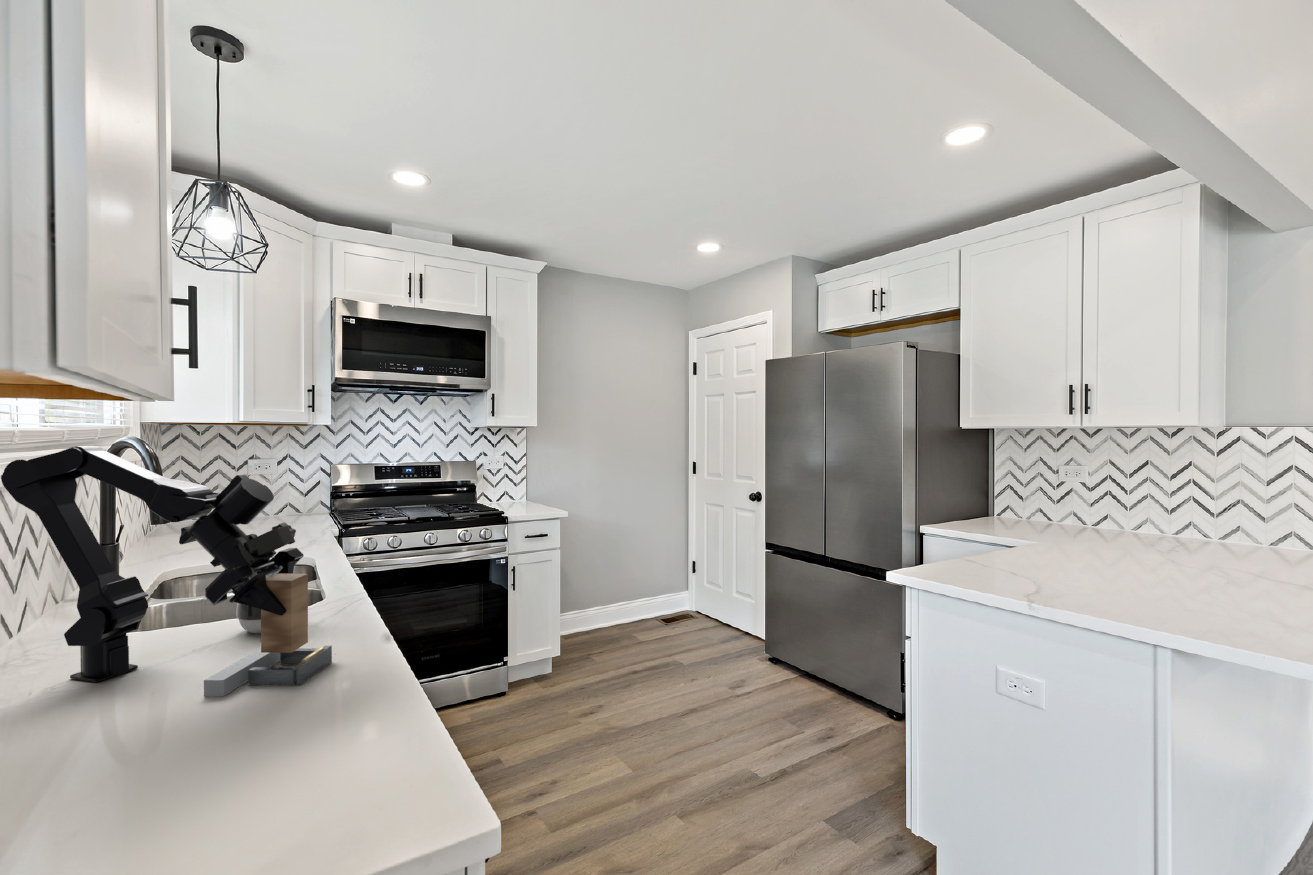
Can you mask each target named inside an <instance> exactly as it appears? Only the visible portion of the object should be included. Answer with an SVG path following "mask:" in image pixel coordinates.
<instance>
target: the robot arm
mask: <svg viewBox="0 0 1313 875" xmlns="http://www.w3.org/2000/svg"><path fill="white" fill-rule="evenodd" d="M85 476H89V477H91V478H93V479H96V480H98V481H100V482H102V483H105V484H107V485H109V486H112V487H114V488H116V489H118V490H120V491H123V492H125V493H127V494H130V495H131V496H133V497H135V498H138V499H139V500H141V501H143V502H144V503H145V504H146V506H147V508H148V509H149V511H151V512H152V513H154V514H155V515H157V516H158V517H159V518H161V519H163V520H165V521H166V522H169V523H180V522H185V521H186V522H187V521H190V520H195V519H196V521H195V522H193V523H192V524H191V525H190V526H184V527H181V528H180V536H179V540H178V542H179V545H185V544H191V543H193V542H197V543H198V544H199V545H200V546H201V547H202V548H203V549H204V550H205V551H206V552H207V553H208V554H209V555H210V556H211V557H212V558H213V559H212V560H211V561H210V564H211V566H213V567H214V568H216V567H218V566H221V567H222V568H223V569H224V570H223V571H222V572H221V573H220V574H219V575H218V576H217V577H215V579H213V580H212V581H211V583H209V584H208V586H206V588H204V593H205V594H204V597H205V599H206V600H207V601H209V603H210V604H211V605H212V606H215V605H219V604H220V603H224V602H225V601H226V600H228V592H229V591H231V590H232V591H231V593H232V594H233V595H232V597H231V598H230V599H229V600H228V602H229V603H235V604H236V603H237V604H238V603H240V604H243V605H247V606H251V607H255V608H258V609H261V610H264V611H268V612H271V613H274V614H277V615H280V616H282V615H283V614H284V613H285V612H286V609H285V607H284V606H283V605H282V603H281V602H280V601H279V600H278V598H277V597H276V596H275V595H274V594H273V592H272V591H271V590H270V589H269V587H268V586H267V585H266V578H269V577H271V576H274V575H276V574H279V573H283V574H294V569H295V567H296V565H297V564H298V562H299V561H300V560H302V558H304V556H305V555H304V553H303V552H302V551H300V549H298V547H288V548H286V549H283V550H280V551H278V552H277V551H276V550H278V549H281V548H283V547H285V546H288V545H293V544H294V543H296V540H295V536H296V533H297V531H296V529H295V528H293V527H292V525H289V524H287V522H282V523H278V525H274V526H272V527H271V530H269V531H266V532H264V533H262V534H260V535H257V534H256V533H250V534H246V533H245V532H244V531H243V530H242V529H241V528H240V527H239V526H238V525H249V524H251V522H252V521H253V520H254V519H255V518H256V517H257V516H258V515H259V514H260V513H261V512H262V511H264V510H265V509H266V507H268V506H269V505H270V503H271V502H272V501H274V499H275V498H274V496H275V495H274V494H273V492H272V490H271V489H270V488H269V487H268V486H267V485H264V484H263V483H261V482H259V481H257V480H255V479H252V478H250V477H249V476H247V474H244V473H243V474H237V475H235V476H234V477H233V478H232V479H231V480H230V481H229V483H228V484H227V486H226V487H224V488H223V490H222V491H221V492H215V491H212V490H211V488H209V487H208V486H206V485H202V484H200V483H195V482H191V481H187V480H182V479H175V478H174V479H173V478H168V477H165V476H162V475H160V474H158V473H156V472H153V471H151V470H148V469H147V468H144V467H142V466H140V465H137V464H135V463H133V462H131V461H128V460H126V459H124V458H122V457H119V456H118V455H115V454H113V453H111V452H109V451H107V450H106V449H105V448H103V447H101V446H97V445H78V446H76V445H75V446H71V447H69V448H66V449H63V450H61V451H58V452H55V453H50V454H46V455H41V456H38V457H34V458H30V459H29V458H28V459H27V458H25V459H24V458H23V459H15V460H13V461H10V462H9V463H7V465H6V466H5V468H4V470H3V472H2V474H1V476H0V481H1V483H2V486H3V487H4V489H5V490H6V491H7V492H8V493H9V495H10V496H11V497H12V498H13V499H14V501H16V503H18V504H19V505H21V506H23V507H25V508H27V509H28V510H30V511H32V512H33V513H35V514H36V515H37V516H38V518H39V520H40V522H41V524H42V525H43V528H44V529H45V530H46V532H47V535H48V536H49V538H50V539H51V541H52V542H53V544H54V547H55V548H56V550H57V551H58V553H59V554H60V557H61V559H62V560H63V562H64V563H65V566H66V567H67V568H68V571H69V572H70V574H71V576H72V578H73V579H74V581H75V582H76V585H77V586H78V588H79V591H78V596H77V602H76V609H77V611H78V615H79V617H80V618H79V619H77V621H76V622H74V623H73V625H71V626H70V627H69V628H68V629H67V630H66V631H65V632H64V634H63V635H64V636H63V637H64V639H65V641H66V645H67V646H68V647H80V671H78V672H75V673H73V674H70V675H69V678H70V679H71V680H79V681H83V682H84V681H86V682H91V683H93V682H94V683H100V682H103V681H106V680H108V679H110V678H113V677H117V676H119V675H123V674H125V673H129V672H131V671H135V670H136V669H139V666H138V664H133V663H131V664H130V646H129V636H128V635H127V633H130V632H133V631H137V630H138V629H139V627H140V625H141V622H142V619H143V618H144V617H145V615H146V613H147V609H148V608H149V603H148V600H147V597H149V593H147V592H146V591H145V590H144V589H143V587H142V585H141V583H140V580H139V579H138V577H137V576H135V575H134V576H130V577H126V578H125V577H123V576H121V575H119V574H118V573H117V571H115V569H114V567H113V566H112V564H111V562H110V560H109V558H108V557H107V555H106V554H105V551H104V550H103V548H102V546H101V545H100V543H99V541H98V539H97V537H96V536H95V534H94V532H93V530H92V529H91V527H90V526H89V524H88V522H87V519H85V517H84V516H85V515H83V513H82V512H81V509H80V507H79V506H78V505H77V502H76V494H77V489H78V482H77V479H80V478H82V477H85ZM272 557H273V558H272ZM270 558H272V559H271V560H270V561H269V559H270Z"/></svg>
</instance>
